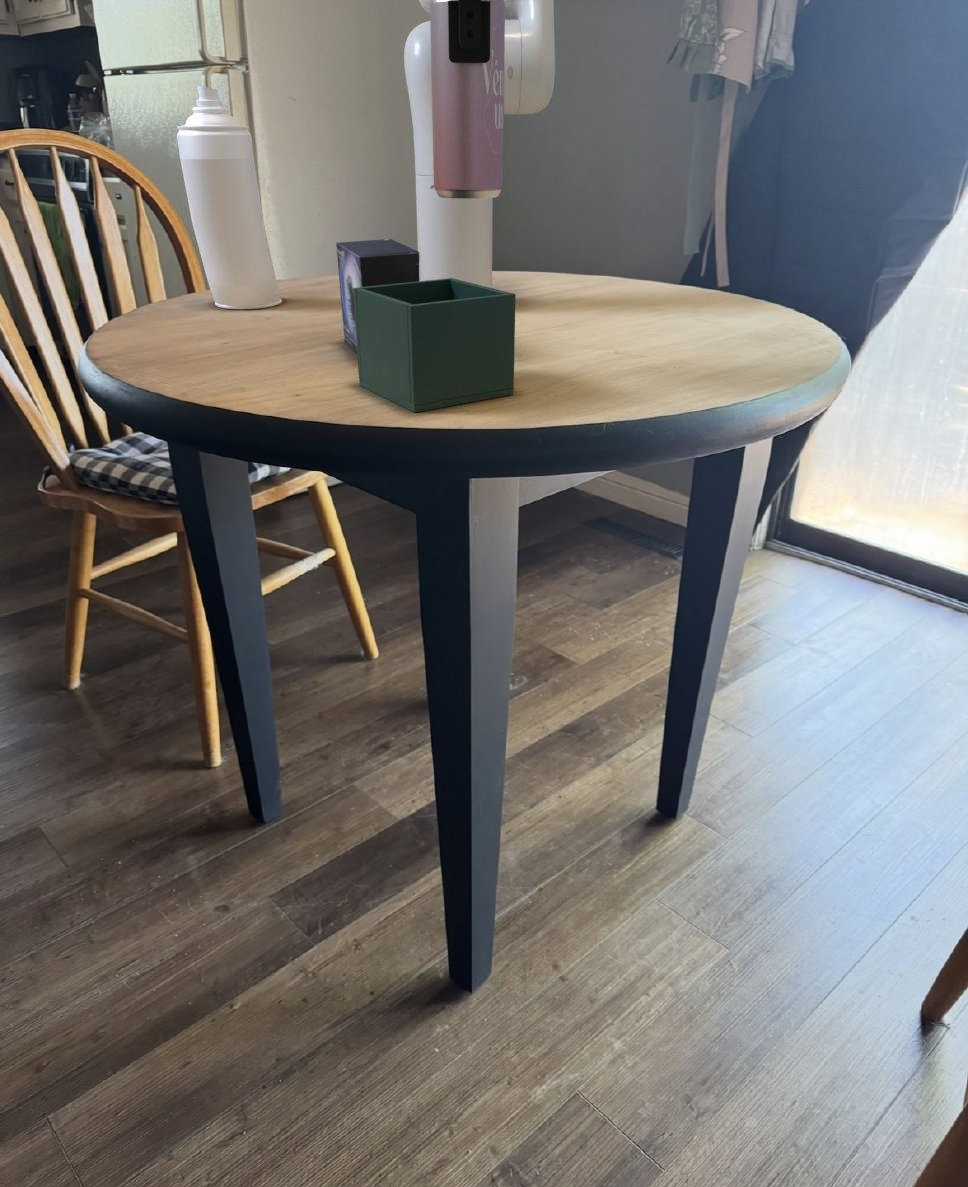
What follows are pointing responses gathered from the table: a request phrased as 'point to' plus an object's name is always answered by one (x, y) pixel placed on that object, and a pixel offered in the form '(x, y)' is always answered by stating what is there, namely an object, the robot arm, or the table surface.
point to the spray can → (226, 206)
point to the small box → (371, 273)
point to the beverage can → (467, 111)
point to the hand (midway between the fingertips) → (466, 62)
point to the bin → (435, 342)
